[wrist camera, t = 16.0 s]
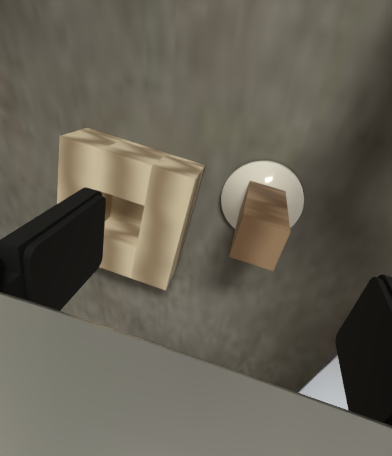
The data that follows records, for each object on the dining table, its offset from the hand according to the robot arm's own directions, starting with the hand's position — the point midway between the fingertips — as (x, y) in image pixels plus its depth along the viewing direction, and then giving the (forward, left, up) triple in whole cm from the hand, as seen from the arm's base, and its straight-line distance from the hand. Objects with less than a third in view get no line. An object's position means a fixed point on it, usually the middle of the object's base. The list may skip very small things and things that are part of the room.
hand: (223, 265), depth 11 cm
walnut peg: (-3, +8, -28) cm, 29 cm away
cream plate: (-3, +8, -29) cm, 30 cm away
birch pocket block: (+13, +14, -29) cm, 34 cm away
